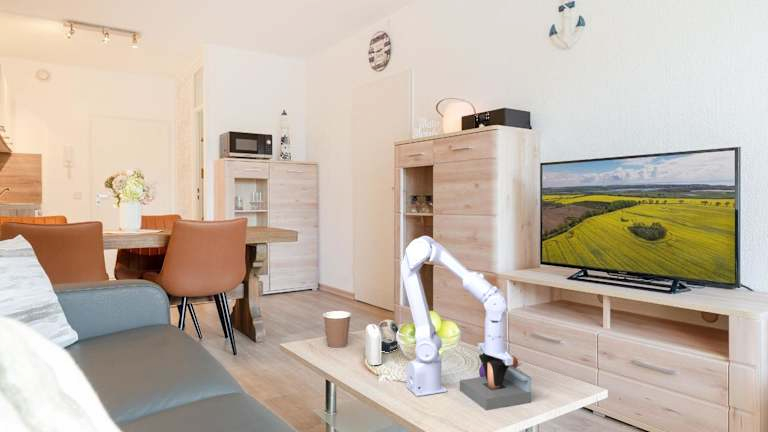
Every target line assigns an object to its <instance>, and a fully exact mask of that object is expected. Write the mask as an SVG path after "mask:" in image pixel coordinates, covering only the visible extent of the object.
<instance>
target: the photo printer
mask: <svg viewBox="0 0 768 432" xmlns="http://www.w3.org/2000/svg"><path fill="white" fill-rule="evenodd" d="M364 337H365V343H364V344H365V347H364V348H365V358H366V360H367V362H368V364H369V365H370V366H372V365H375V364H379V363H381V364H382V352H381V342H382V340H381V332H380V330H379V328H378V325H377V324H374V323H372V324H371V323H370V324H367V326H366V327H365V336H364Z"/></svg>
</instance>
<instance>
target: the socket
mask: <svg viewBox="0 0 768 432" xmlns="http://www.w3.org/2000/svg"><path fill="white" fill-rule="evenodd" d="M459 391H460V392H461V393H462V394H464V395H465V396H466V397H468V398H469V399H471V400H472V401H473V402H474V403H476V404H477V405H478V406H479V407H481V408H483V409H484V410H485V411H491V410H496V409H502V408H507V407H512V406H513V407H514V406H519V405H524V404H530V403H531V401H532V399H531V398H532V376H530V375H528V374H526V373H525V372H522V371H520V370H519V369H517V368H515V366H514V367H512V366H509V367H508V369H507V371H506V373H505V376H504V380H503V383H502V385H500V389H497V390H490V389H489V388H487V379H486V376H485V377H481V376H480V377H474V378H473V377H472V378H466V379H459Z"/></svg>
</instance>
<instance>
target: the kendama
mask: <svg viewBox="0 0 768 432" xmlns="http://www.w3.org/2000/svg"><path fill="white" fill-rule="evenodd" d="M510 356H511V357H513V365H510V366H512V367H514V368H515V367H517V366H518V364H519V361H518V358H517V357H516V356H513V355H510ZM478 370H479V371H478V373H479V376H480V377H485V376H486V375H485V371H484V367H483V364H482V363H481V365H480V367H479V369H478Z"/></svg>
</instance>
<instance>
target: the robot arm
mask: <svg viewBox="0 0 768 432" xmlns="http://www.w3.org/2000/svg"><path fill="white" fill-rule="evenodd" d="M428 259H429V260H428ZM427 260H428V261H429V262H431V263H437V264H438V263H439V264H441V265H443V266H444V267H445V268H446V269H447V270H448V271H449V272H450V273H452V274H453V275H455V276H456V277H457V278H459V279H460V280H461V281H462V287H463V289H464V290H466V291H467V292H468V293H469V294H470V295H471V296H473V297H474V298H475V299H476V300H477V301H478V302H479V303H482V304H483V307H484V309H485V317H484V342H478V343H477V350H478V351H482V352H483V353H482V354H481V353H480V354H478V358H479V359H480V361H481V365H482V364H483V367H484V371H485V375H486V379H487V363H488V362H489V361H490V364H491V366H492V370H493V378H494V385H495V386H500V385H502V383H503V380H504V376H505V373H506V371H507V369H508V367H509V366H510V365H513V357H511V356H512V355H510V353H508V352H509V348H507V347H506V337H507V336H506V335H507V333H506V332H507V326H506V325H507V319H506V315H507V314H506V313H507V312H506V309H507V297H506V295H505V294H504V293H503V290H501V289H498V287H497V286H496V285H492V284H491V283H490V282H489V281H487V279H486V278H485V275H484V274H483V273H482V272H481V273H478V272H477V271H469V270H468V269H467V267H465V266H464V264H462V263H461V262H460V261H459V260H458V259H457V258H456V257H455V256H453V254H452V253H451V252H449V251H448V250H447V249H446V248H445V247H444V246H442V245H441V244H440V243H439V242H437V241H435V240H434V239H433V238H432V236H431V237H430V236H428V235H423V236H419V237H418V238H414V240H412V241H411V242H410V243H409V245H407V247H406V248H405V254H404V256H403V260H402V262H401V266H400V272H401V277H402V281H403V284H404V288H405V292H406V295H407V301H408V303H409V304H408V305H409V307H410V312H411V316H412V320H413V323H414V328H415V334H414V335H415V336H414V339H415V349H414V353H415V355H416V357H415V358H414V359H412V360H410V361H408V363H407V368H406V385H405V386H406V388H407V389H409V391H410V392H412V393H413V394H414V395H415V396H416V397H420V396H422V397H423V396H428V395H434V394H440V393H446V392H447V391H448V390H447V389H446V388H445V387H444V386H442V356H441V355H440V352H439V351H440V350H441V348H442V346H443V340H442V338H441V336H440V335H439V334H438V332H437V330H436V326H435V325H434V324H433V321H432V317H431V315H430V308H429V306H428V305H429V304H428V302H427V296H426V294H425V290H424V285H423V283H422V277H421V275H420V274H421V273H420V270H421V268H422V266H423V265H424V263H425V262H426V261H427Z"/></svg>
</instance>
